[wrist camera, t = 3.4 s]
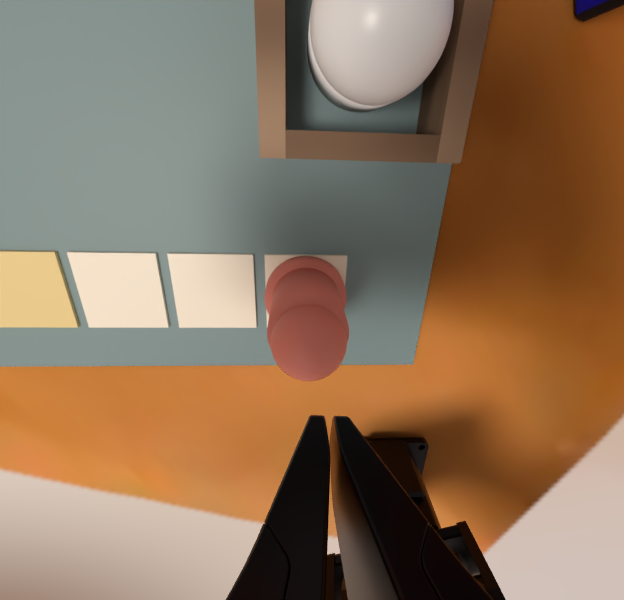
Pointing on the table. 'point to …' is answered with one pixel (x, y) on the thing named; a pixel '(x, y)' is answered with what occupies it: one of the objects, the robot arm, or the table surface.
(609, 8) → the puzzle cube
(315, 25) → the dome
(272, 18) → the box
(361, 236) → the board
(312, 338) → the pawn
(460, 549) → the robot arm
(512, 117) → the table surface
